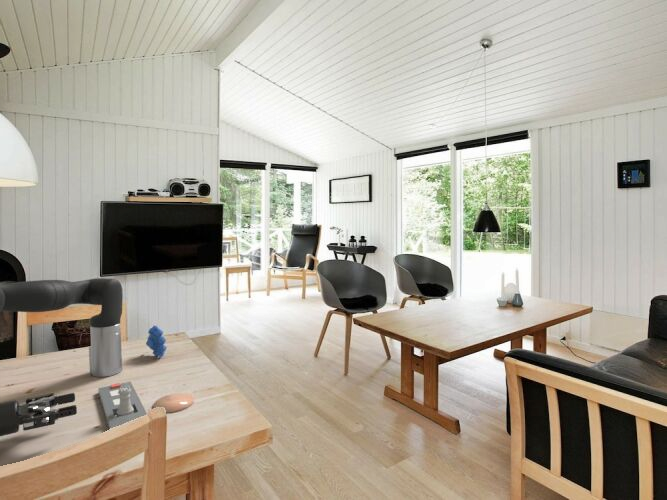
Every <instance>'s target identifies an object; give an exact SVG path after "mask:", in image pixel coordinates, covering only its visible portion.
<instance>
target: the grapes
mask: <svg viewBox="0 0 667 500" xmlns="http://www.w3.org/2000/svg"><path fill="white" fill-rule="evenodd" d="M163 333H164V331H163V330H162V329H160V328H159V327H158V326H157V325H153V326H152V327H150V328H149V329H148V331H147V334H149V335H148V337H147V341H146V343H145V345H146V346H147V347H149V349H150V350H152V354H153V355H154V356H155V357H159V358H163V357H164V355H165V352H166V350H167V346H166V345H165V344H166V342H167V339H166V338H165V337H164V336H163V335H164V334H163Z"/></svg>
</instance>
